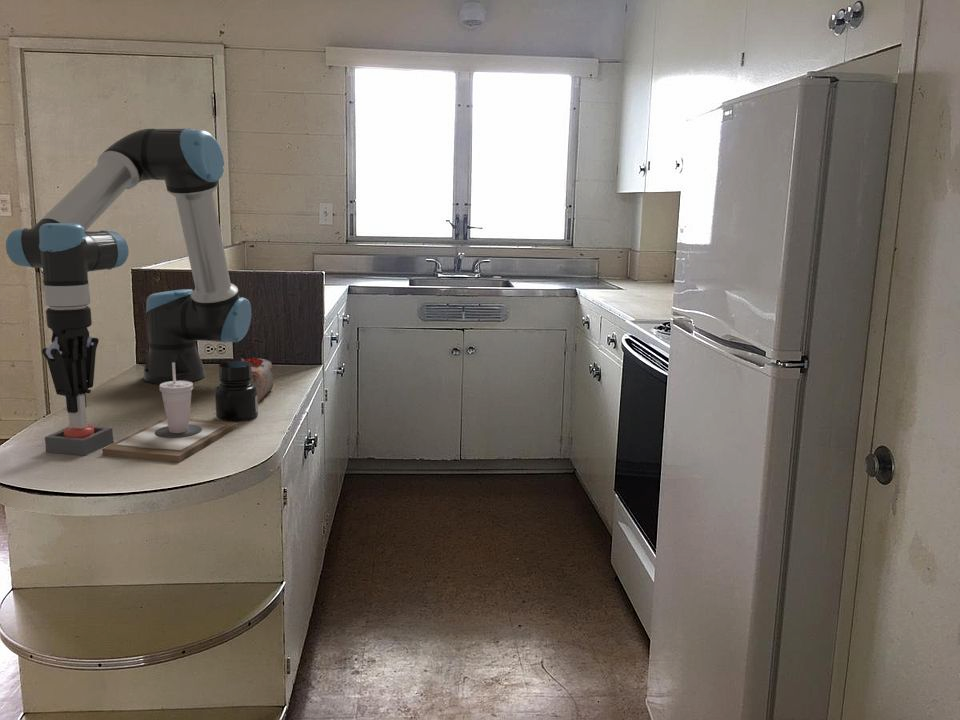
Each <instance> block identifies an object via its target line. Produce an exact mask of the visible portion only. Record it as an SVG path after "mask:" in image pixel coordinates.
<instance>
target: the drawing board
mask: <svg viewBox="0 0 960 720" xmlns="http://www.w3.org/2000/svg"><path fill="white" fill-rule="evenodd" d="M237 427H238V426H237V422H233V421H220V420H219V421H218V420H206V419H205V420H204V419H193V418H189V430H188V431H186V432H182V433H171V432H169V427H168V422H167V417H166V418H164V419H161V420H159V421H157V422H155V423H153V424H151V425H149V426H147V427H145V428H143V429H141V430H138V431H137V432H135V433H134V432H133V433H132V434H130V435H128V436H126V437H123V438H121V439H120V440H118V441H116V442H115V441H114V442H113V443H111V444H109V445H107V446H104V447H102V448H101V449H102V455H103V456H108V457H109V456H110V457H111V456H112V457H123V458H132V459H134V458H135V459H143V460H155V461H166V462H176V463H181V462H183V461H184V460H186V459H187V458H189V457H190V456H193V455H194V454H196V453H197V452H199V451H201V450H203V449H204V448H206V447H208V446H210V445H211V444H212V443H214V442H216V441H218V440H219V439H221V438H223V437H224V436H226V435H228V434H230V433H231V432H233V431H234V430H236V429H237Z"/></svg>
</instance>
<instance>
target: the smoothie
mask: <svg viewBox="0 0 960 720" xmlns="http://www.w3.org/2000/svg"><path fill="white" fill-rule="evenodd" d="M172 372H173V381H169V382H165V383H162V384H159V392H161V396H162V401H163V406H164V412H165V416H166V418H167V422H168V427H169V432H171V433H182V432H186V431H188V430H189V419H190V417H191V415H190V413H191V402H192V391H193V390H194V384H193V381H191V382H189V381H176V373H175V363H172Z"/></svg>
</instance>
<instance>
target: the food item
mask: <svg viewBox="0 0 960 720" xmlns="http://www.w3.org/2000/svg"><path fill="white" fill-rule="evenodd" d="M240 361H244V362H249V363H251V376H252V377H251V378H252V380H251V381H250V382H252V384H253V385H255V386H256V388H257V398H258V404H259V403H260V401H262V400H263V399H264V397H266V395H267V394H268V393H269V392H270V391H271V390H273V387H274V378H273V377H274V376H273V365H272V361H270V360H268V359H264V358H258V357H256V356H253V357H251V358H247V359H244V358H243V357H240Z"/></svg>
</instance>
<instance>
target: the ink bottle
mask: <svg viewBox="0 0 960 720" xmlns="http://www.w3.org/2000/svg"><path fill="white" fill-rule="evenodd" d="M218 368H219V369H218V371H219V382H220V383H219V385H218V386H217V387H216V388H215V391H214V393H215V395H214V397H215V414H216V415H215V416H216V418H217V419H218V420H221V421H223V422H242V421H243V422H245V421H248V420H252V419H254V418H256V417H257V416H258V414H259V403H258V398H257V388H256V386H255V385H253V384H252V382H250V381H251V380H252V378H251V377H252V376H251V363H249V362H244V361H241V360H237V361H235V360H233V361H225V362H222V363H219V365H218Z"/></svg>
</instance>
